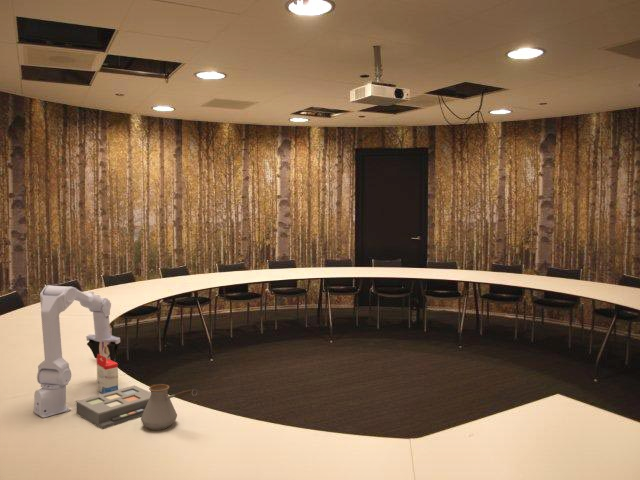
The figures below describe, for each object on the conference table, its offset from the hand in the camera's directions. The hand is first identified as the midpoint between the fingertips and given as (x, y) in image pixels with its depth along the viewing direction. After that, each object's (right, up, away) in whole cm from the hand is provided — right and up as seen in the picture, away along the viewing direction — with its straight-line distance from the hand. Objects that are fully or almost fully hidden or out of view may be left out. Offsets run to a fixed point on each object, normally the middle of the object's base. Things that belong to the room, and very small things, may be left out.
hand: (105, 358), depth 208 cm
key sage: (+10, -10, -30) cm, 33 cm away
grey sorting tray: (+17, -12, -28) cm, 35 cm away
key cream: (+17, -10, -32) cm, 38 cm away
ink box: (+4, -11, -9) cm, 15 cm away
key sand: (+14, -10, -25) cm, 30 cm away
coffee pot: (+39, -14, -41) cm, 58 cm away
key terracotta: (+21, -10, -27) cm, 36 cm away
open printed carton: (-15, -9, +30) cm, 35 cm away
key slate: (+18, -9, -20) cm, 29 cm away
